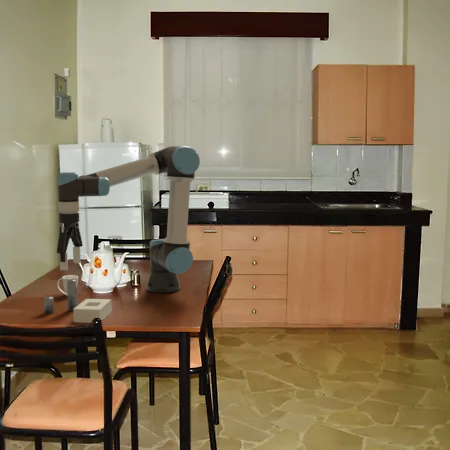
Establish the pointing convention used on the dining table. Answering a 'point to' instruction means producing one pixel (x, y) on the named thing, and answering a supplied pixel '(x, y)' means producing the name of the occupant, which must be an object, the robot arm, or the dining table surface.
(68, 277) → the cup
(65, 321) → the dining table surface
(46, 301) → the short pin
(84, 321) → the hole block
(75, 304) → the long pin
